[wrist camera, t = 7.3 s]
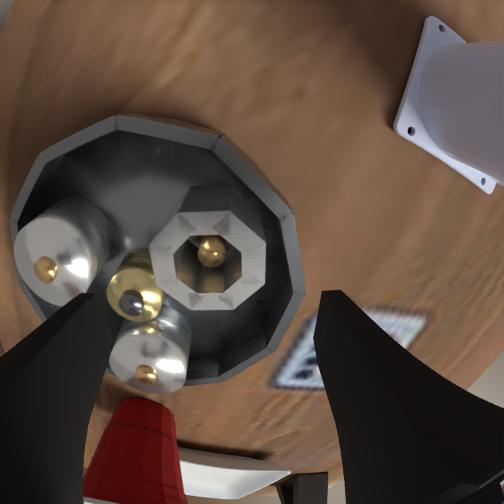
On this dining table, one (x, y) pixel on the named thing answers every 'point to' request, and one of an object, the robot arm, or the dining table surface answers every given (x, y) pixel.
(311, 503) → the phone stand
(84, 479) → the plastic cup
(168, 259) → the octagonal tube
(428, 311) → the dining table surface
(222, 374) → the carrier
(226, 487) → the salad plate
